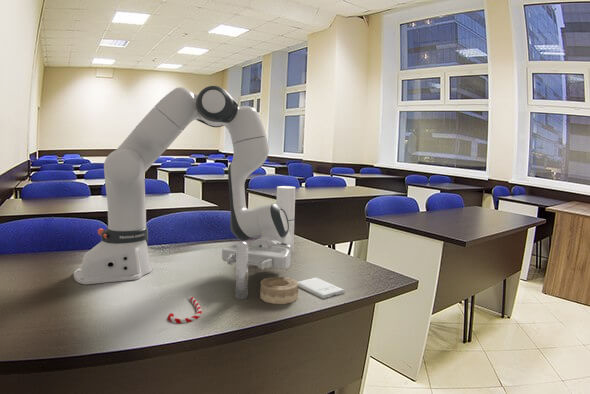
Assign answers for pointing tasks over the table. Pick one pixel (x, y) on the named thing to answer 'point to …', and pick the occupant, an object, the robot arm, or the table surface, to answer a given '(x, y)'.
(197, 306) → the candy cane
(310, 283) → the external hard drive
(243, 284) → the white peg
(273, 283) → the tan ring
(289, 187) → the cylindrical container
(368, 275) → the table surface
